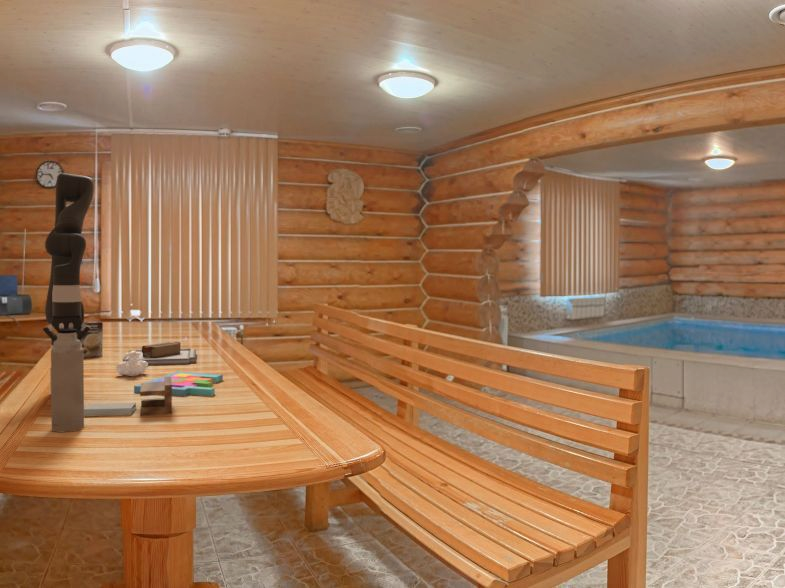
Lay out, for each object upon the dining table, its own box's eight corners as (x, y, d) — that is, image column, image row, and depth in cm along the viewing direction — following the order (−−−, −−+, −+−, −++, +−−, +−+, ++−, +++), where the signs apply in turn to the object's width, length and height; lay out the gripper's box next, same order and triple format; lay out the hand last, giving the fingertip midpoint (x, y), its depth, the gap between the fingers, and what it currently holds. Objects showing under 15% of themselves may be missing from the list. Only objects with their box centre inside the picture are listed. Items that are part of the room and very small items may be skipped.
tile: (81, 417, 182) (81, 409, 182) (88, 411, 189) (88, 403, 189) (131, 416, 185) (131, 408, 185) (135, 410, 192) (135, 402, 191)
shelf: (140, 415, 184) (140, 386, 183) (141, 405, 196) (141, 377, 195) (171, 413, 187) (171, 384, 187) (170, 403, 199) (170, 376, 199)
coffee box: (81, 357, 278) (81, 323, 277) (78, 355, 283) (78, 321, 282) (103, 356, 284) (102, 322, 283) (99, 354, 289) (99, 320, 288)
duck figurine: (116, 382, 239) (119, 362, 233) (113, 368, 244) (116, 348, 237) (148, 379, 246) (152, 360, 240) (144, 365, 250) (148, 346, 244)
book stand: (130, 356, 290) (130, 340, 289) (195, 354, 299) (195, 339, 298) (122, 367, 261) (122, 350, 261) (195, 365, 270) (195, 348, 270)
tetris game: (134, 393, 214) (206, 399, 208) (134, 385, 214) (206, 391, 208) (177, 378, 241) (242, 382, 236) (177, 371, 241) (242, 375, 236)
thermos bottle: (46, 428, 169) (45, 328, 167) (76, 422, 175) (75, 326, 173) (58, 434, 164) (57, 331, 162) (89, 428, 170) (88, 329, 168)
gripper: (39, 301, 175) (40, 360, 176) (90, 300, 179) (90, 358, 180) (43, 299, 182) (44, 356, 183) (92, 299, 186) (93, 354, 187)
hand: (67, 357), depth 182 cm, fingers closed
